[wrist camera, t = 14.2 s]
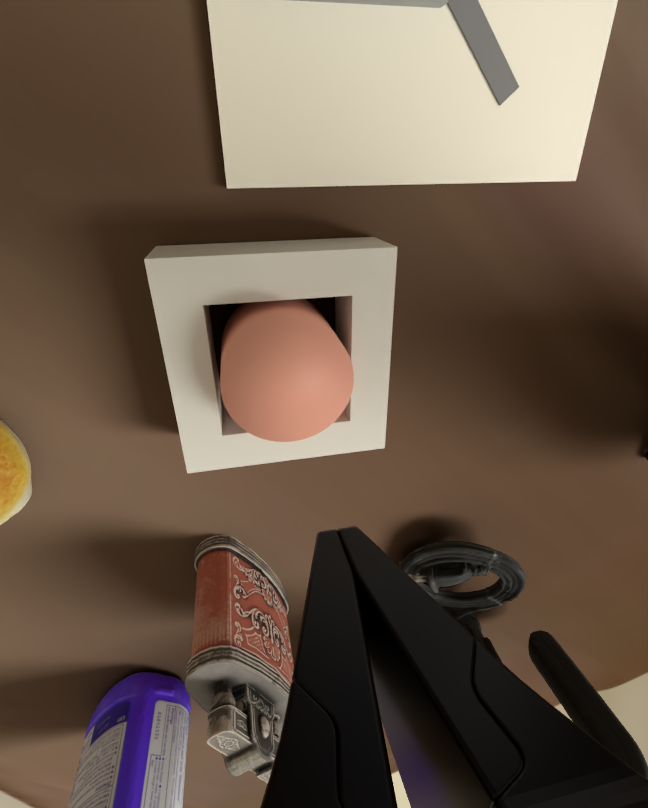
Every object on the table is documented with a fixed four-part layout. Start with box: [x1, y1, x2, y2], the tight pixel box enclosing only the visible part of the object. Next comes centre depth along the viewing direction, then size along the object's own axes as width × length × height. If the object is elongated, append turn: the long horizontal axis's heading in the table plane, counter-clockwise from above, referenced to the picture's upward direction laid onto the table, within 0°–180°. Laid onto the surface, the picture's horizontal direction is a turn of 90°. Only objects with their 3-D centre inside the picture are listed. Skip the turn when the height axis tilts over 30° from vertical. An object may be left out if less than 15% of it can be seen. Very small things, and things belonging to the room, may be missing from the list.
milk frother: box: [401, 541, 648, 779], centre depth 26 cm, size 14×16×15 cm
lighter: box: [185, 535, 294, 783], centre depth 22 cm, size 8×3×10 cm, turn 27°
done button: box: [220, 299, 354, 442], centre depth 18 cm, size 5×5×4 cm
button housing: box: [144, 237, 397, 473], centre depth 19 cm, size 9×9×3 cm
